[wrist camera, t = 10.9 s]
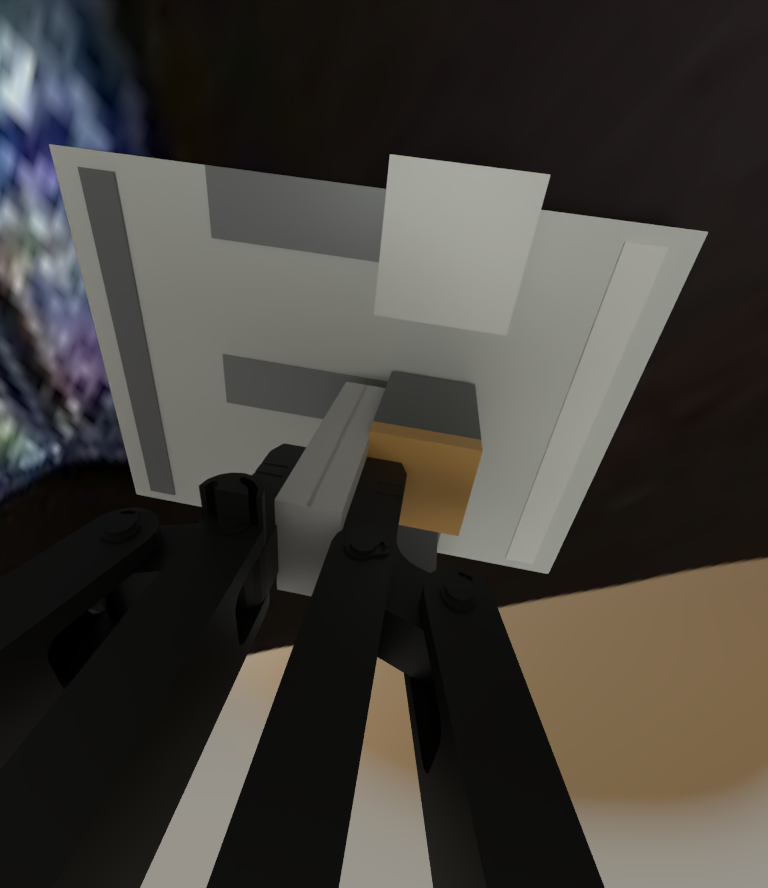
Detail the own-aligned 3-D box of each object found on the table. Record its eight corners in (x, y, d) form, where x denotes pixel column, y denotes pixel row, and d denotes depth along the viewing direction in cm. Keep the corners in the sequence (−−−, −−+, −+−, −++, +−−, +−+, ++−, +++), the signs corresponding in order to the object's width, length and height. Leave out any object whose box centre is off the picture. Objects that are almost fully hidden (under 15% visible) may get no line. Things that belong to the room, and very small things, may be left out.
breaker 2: (382, 441, 16) (359, 517, 12) (392, 370, 15) (369, 431, 11) (457, 455, 16) (458, 536, 12) (474, 384, 15) (482, 451, 11)
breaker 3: (364, 549, 19) (341, 636, 15) (370, 499, 18) (346, 583, 14) (427, 561, 19) (420, 653, 15) (439, 512, 18) (434, 600, 14)
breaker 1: (397, 282, 13) (373, 314, 9) (411, 172, 12) (389, 154, 8) (491, 296, 13) (506, 336, 9) (517, 185, 11) (550, 174, 8)
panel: (161, 471, 22) (135, 495, 20) (96, 151, 15) (46, 143, 13) (540, 542, 20) (548, 575, 19) (675, 228, 13) (710, 232, 11)
